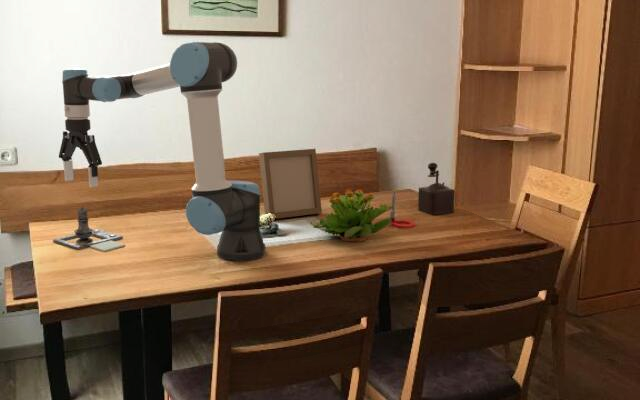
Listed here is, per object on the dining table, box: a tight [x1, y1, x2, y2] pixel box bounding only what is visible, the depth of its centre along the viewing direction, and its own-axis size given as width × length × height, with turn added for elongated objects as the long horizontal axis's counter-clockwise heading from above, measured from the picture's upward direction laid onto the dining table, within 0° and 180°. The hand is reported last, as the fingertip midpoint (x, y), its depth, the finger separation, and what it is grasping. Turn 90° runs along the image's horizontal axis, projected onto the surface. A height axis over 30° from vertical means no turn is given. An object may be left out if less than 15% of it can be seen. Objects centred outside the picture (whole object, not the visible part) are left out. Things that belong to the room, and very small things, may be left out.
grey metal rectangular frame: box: [52, 228, 124, 251], centre depth 232 cm, size 14×17×1 cm
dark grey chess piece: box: [73, 205, 94, 244], centre depth 230 cm, size 6×6×12 cm
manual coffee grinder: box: [417, 162, 456, 216], centre depth 276 cm, size 16×11×18 cm
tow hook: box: [387, 189, 416, 229], centre depth 254 cm, size 8×13×9 cm
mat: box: [89, 240, 126, 253], centre depth 225 cm, size 8×8×1 cm
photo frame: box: [258, 148, 323, 220], centre depth 266 cm, size 15×22×25 cm
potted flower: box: [309, 188, 393, 243], centre depth 236 cm, size 25×24×18 cm
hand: (81, 183), depth 227 cm, fingers open, 13 cm apart
